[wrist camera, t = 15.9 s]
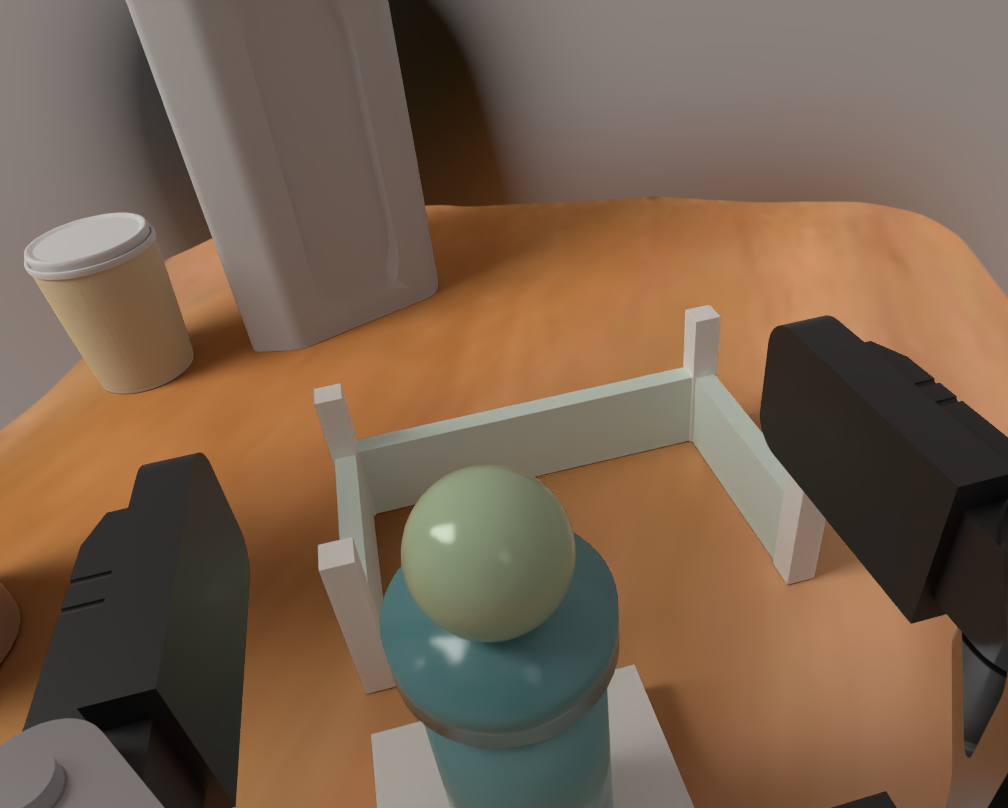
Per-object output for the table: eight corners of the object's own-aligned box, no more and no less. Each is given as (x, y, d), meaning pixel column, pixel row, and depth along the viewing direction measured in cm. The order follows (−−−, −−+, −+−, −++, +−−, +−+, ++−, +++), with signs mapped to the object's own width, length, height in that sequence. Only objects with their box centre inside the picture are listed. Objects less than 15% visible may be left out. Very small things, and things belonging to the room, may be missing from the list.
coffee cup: (196, 327, 69) (144, 201, 62) (212, 374, 62) (156, 239, 55) (88, 360, 66) (20, 232, 59) (92, 414, 59) (16, 277, 52)
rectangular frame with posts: (814, 577, 39) (841, 445, 34) (365, 694, 37) (318, 570, 31) (702, 423, 50) (709, 304, 45) (350, 504, 48) (313, 389, 42)
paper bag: (420, 343, 62) (340, -48, 46) (250, 352, 64) (112, -21, 47) (450, 242, 77) (398, -79, 61) (311, 252, 79) (223, -57, 63)
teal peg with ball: (422, 840, 29) (291, 497, 18) (540, 727, 32) (488, 377, 21) (539, 985, 25) (460, 653, 14) (661, 839, 28) (672, 477, 17)
